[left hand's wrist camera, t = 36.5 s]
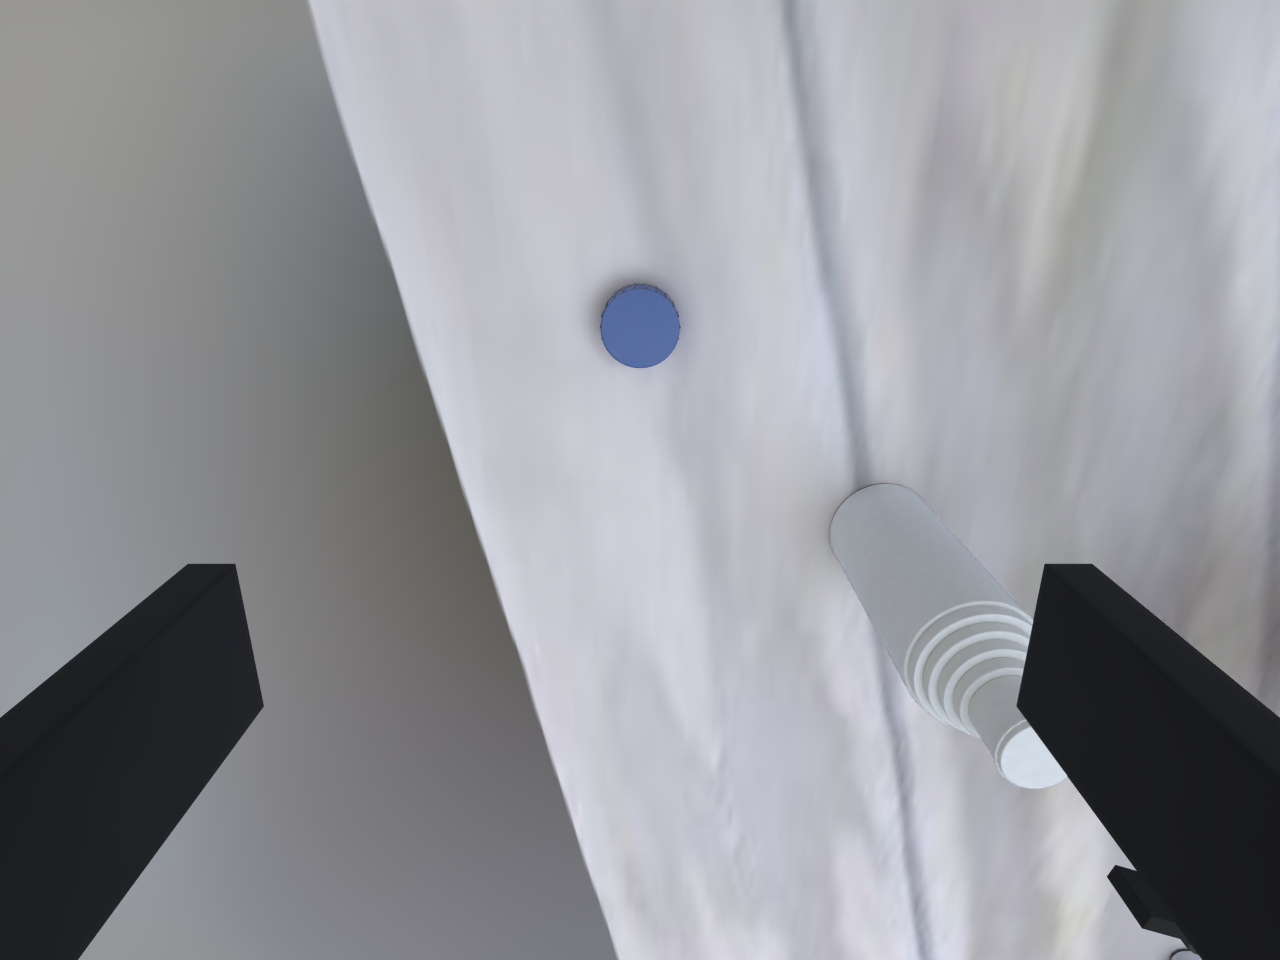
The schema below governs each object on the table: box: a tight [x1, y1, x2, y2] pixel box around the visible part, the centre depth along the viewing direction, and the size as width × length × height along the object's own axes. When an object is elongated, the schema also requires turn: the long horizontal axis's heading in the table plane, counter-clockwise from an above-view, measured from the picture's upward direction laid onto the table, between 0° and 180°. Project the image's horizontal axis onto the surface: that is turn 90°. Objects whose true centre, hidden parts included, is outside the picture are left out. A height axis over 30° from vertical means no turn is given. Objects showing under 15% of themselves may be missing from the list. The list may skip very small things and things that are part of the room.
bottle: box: [830, 484, 1068, 789], centre depth 39 cm, size 6×6×21 cm
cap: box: [600, 284, 680, 368], centre depth 43 cm, size 4×4×2 cm
